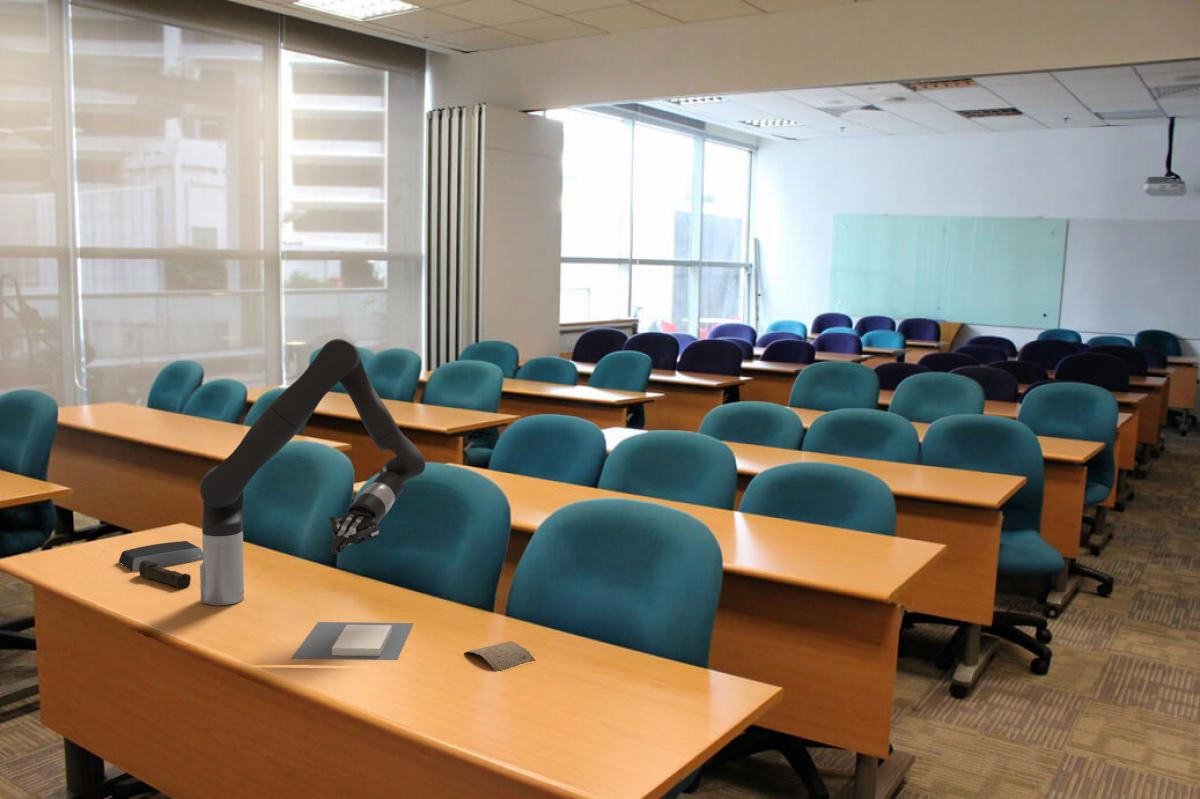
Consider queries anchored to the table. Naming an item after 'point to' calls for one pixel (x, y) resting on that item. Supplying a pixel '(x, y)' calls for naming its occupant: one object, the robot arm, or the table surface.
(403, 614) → the table surface
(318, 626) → the mat
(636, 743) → the table surface
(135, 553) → the external hard drive
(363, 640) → the tile
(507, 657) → the clay tablet
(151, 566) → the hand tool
